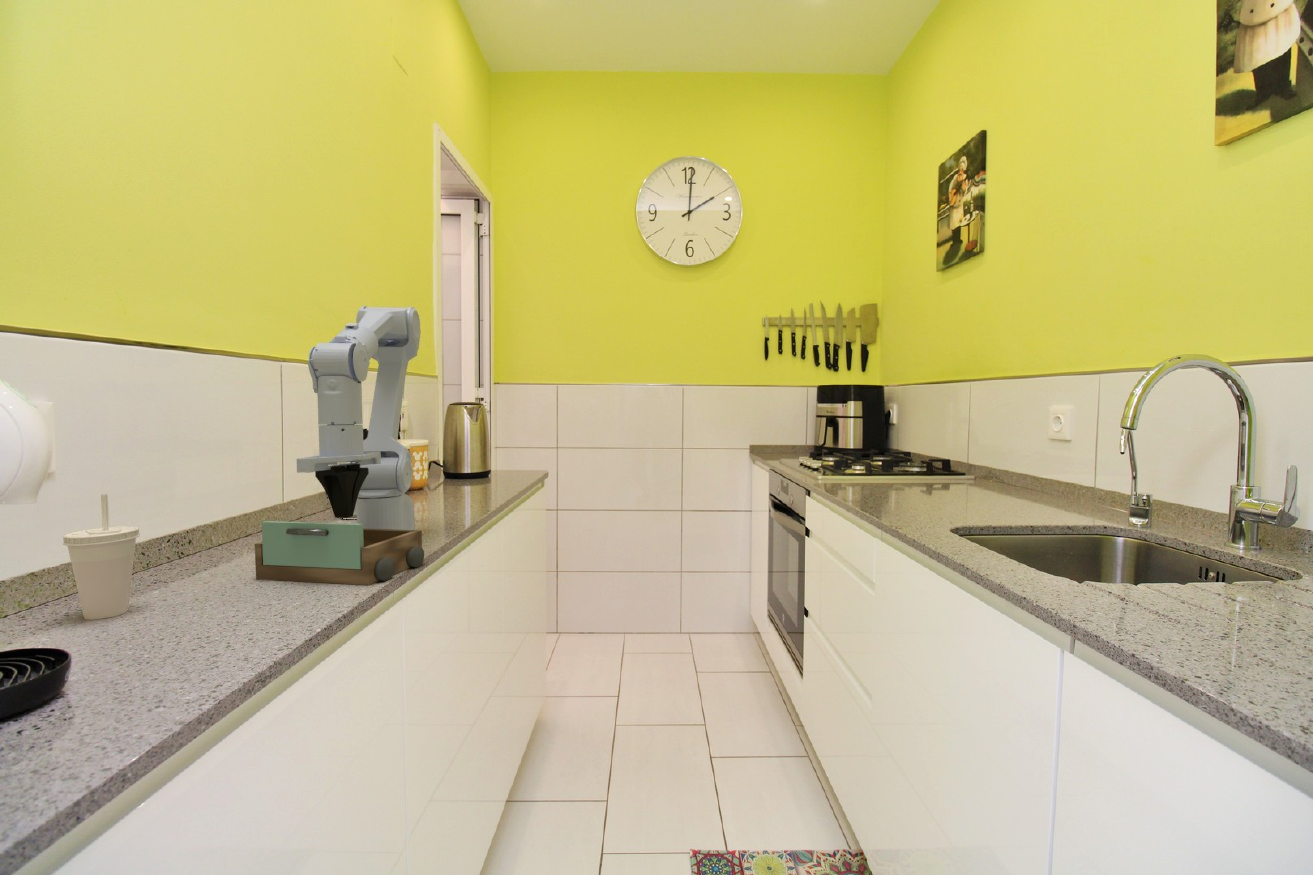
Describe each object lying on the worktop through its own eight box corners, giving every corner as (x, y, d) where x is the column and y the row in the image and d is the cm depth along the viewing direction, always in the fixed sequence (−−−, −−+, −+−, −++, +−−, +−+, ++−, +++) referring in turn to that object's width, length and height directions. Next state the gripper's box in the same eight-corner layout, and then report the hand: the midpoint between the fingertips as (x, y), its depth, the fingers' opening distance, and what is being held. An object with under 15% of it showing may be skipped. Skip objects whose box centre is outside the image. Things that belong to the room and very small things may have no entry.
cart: (316, 557, 92) (315, 526, 92) (428, 562, 88) (427, 530, 88) (250, 578, 81) (248, 543, 80) (375, 585, 77) (374, 548, 77)
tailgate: (268, 563, 81) (266, 521, 81) (364, 567, 78) (362, 523, 78) (258, 566, 79) (256, 523, 79) (356, 570, 76) (354, 526, 76)
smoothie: (96, 625, 63) (89, 498, 62) (51, 621, 64) (44, 497, 64) (157, 606, 69) (152, 490, 69) (115, 603, 70) (109, 490, 70)
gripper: (327, 425, 76) (330, 527, 77) (396, 424, 91) (399, 509, 91) (281, 426, 78) (285, 525, 78) (357, 424, 92) (360, 508, 92)
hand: (343, 517), depth 85 cm, fingers closed
